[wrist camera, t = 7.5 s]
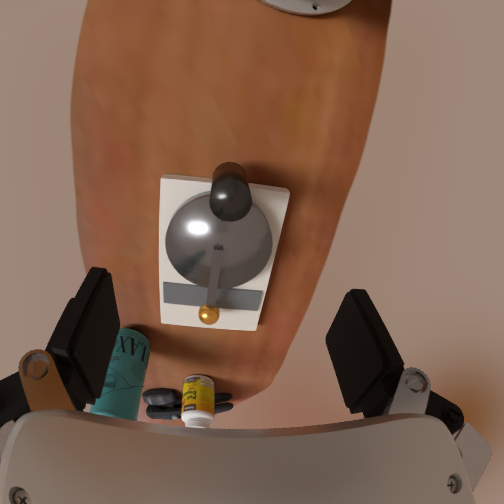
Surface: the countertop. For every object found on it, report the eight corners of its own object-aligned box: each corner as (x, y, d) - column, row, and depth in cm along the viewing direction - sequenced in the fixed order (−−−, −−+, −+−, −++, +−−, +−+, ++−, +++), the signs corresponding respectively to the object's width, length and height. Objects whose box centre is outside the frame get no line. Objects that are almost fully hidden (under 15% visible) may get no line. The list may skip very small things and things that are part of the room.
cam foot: (174, 152, 25) (159, 173, 20) (288, 170, 27) (306, 194, 21) (165, 304, 35) (157, 345, 29) (251, 313, 37) (256, 354, 31)
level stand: (163, 173, 28) (160, 179, 26) (287, 188, 30) (291, 194, 28) (162, 315, 38) (160, 325, 37) (254, 323, 40) (255, 332, 39)
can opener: (151, 401, 52) (148, 424, 47) (141, 385, 48) (137, 409, 44) (234, 401, 53) (235, 425, 48) (231, 385, 49) (232, 410, 45)
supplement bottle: (196, 369, 46) (194, 422, 37) (220, 381, 48) (221, 431, 39) (177, 380, 47) (173, 430, 39) (200, 391, 50) (200, 438, 41)
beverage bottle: (161, 339, 41) (145, 463, 24) (133, 352, 42) (113, 464, 25) (131, 313, 38) (99, 443, 21) (104, 328, 39) (71, 445, 22)
